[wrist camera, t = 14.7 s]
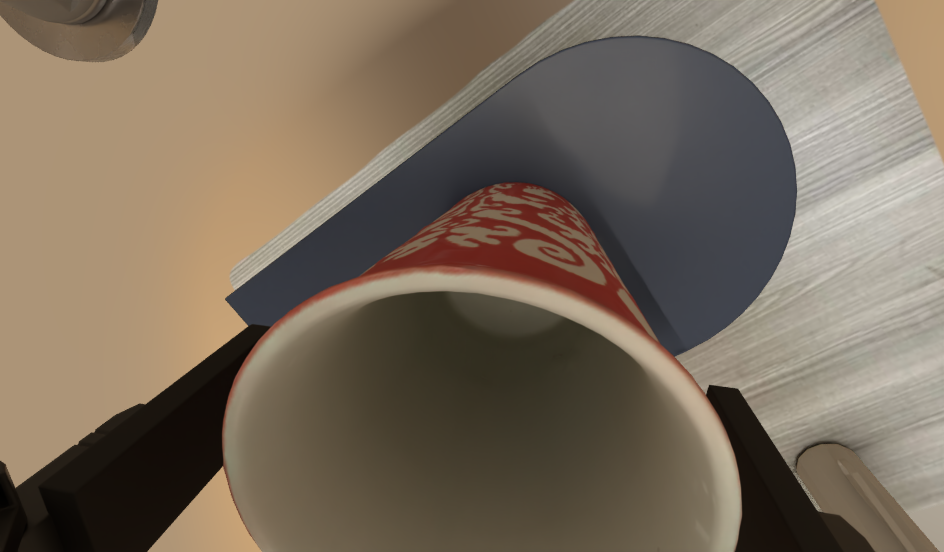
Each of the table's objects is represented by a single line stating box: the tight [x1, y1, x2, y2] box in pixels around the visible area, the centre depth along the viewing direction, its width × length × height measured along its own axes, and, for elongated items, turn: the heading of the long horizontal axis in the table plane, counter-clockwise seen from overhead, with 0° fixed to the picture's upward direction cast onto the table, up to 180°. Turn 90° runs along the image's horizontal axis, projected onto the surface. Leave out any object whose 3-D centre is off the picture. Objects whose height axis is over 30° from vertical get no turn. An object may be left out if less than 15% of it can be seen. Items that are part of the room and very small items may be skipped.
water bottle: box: [796, 444, 939, 552], centre depth 48 cm, size 9×8×25 cm
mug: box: [222, 182, 742, 552], centre depth 15 cm, size 13×9×14 cm
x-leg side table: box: [225, 36, 797, 357], centre depth 37 cm, size 26×14×34 cm, turn 125°
